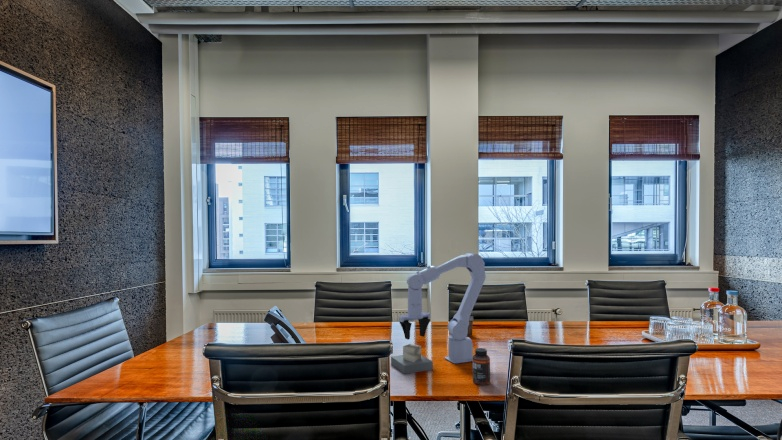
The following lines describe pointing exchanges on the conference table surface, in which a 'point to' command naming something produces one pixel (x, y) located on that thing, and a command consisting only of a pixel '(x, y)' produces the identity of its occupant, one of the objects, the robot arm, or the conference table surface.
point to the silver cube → (411, 352)
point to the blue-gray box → (411, 364)
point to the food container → (470, 326)
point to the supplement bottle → (481, 367)
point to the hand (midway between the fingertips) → (414, 337)
